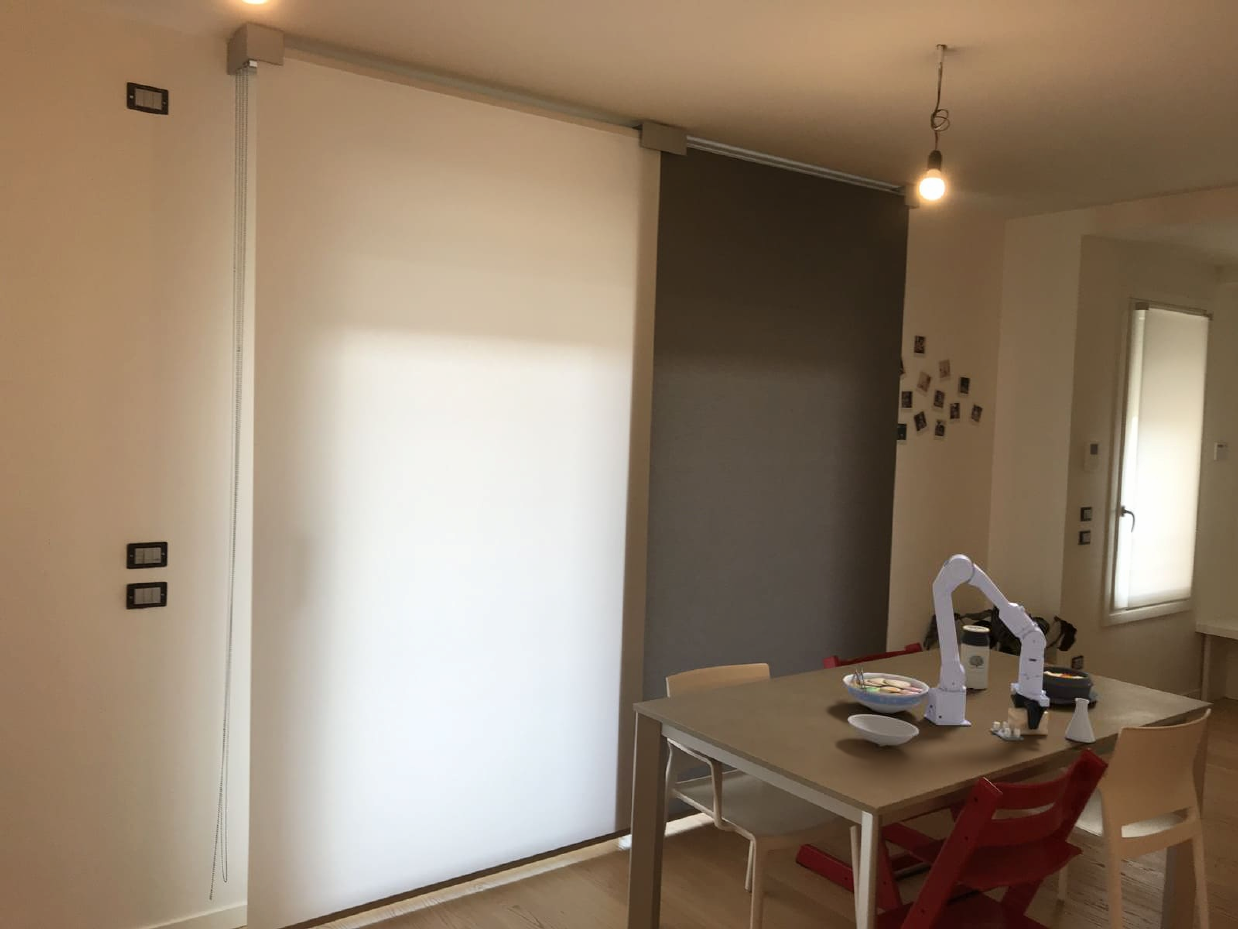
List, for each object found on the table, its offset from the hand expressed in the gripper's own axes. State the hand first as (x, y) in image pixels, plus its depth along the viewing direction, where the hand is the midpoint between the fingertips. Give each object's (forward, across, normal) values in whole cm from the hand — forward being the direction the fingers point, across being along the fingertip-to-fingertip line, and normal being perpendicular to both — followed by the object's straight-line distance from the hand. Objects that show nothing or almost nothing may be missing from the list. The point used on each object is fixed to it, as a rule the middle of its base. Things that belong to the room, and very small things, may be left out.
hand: (1027, 726), depth 245 cm
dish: (+2, -10, +44) cm, 45 cm away
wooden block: (+1, 0, 0) cm, 1 cm away
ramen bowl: (+2, +18, +31) cm, 36 cm away
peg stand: (+2, -3, +8) cm, 8 cm away
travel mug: (+2, +44, -8) cm, 44 cm away
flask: (+2, -6, -11) cm, 12 cm away
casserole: (+2, +30, -28) cm, 41 cm away
